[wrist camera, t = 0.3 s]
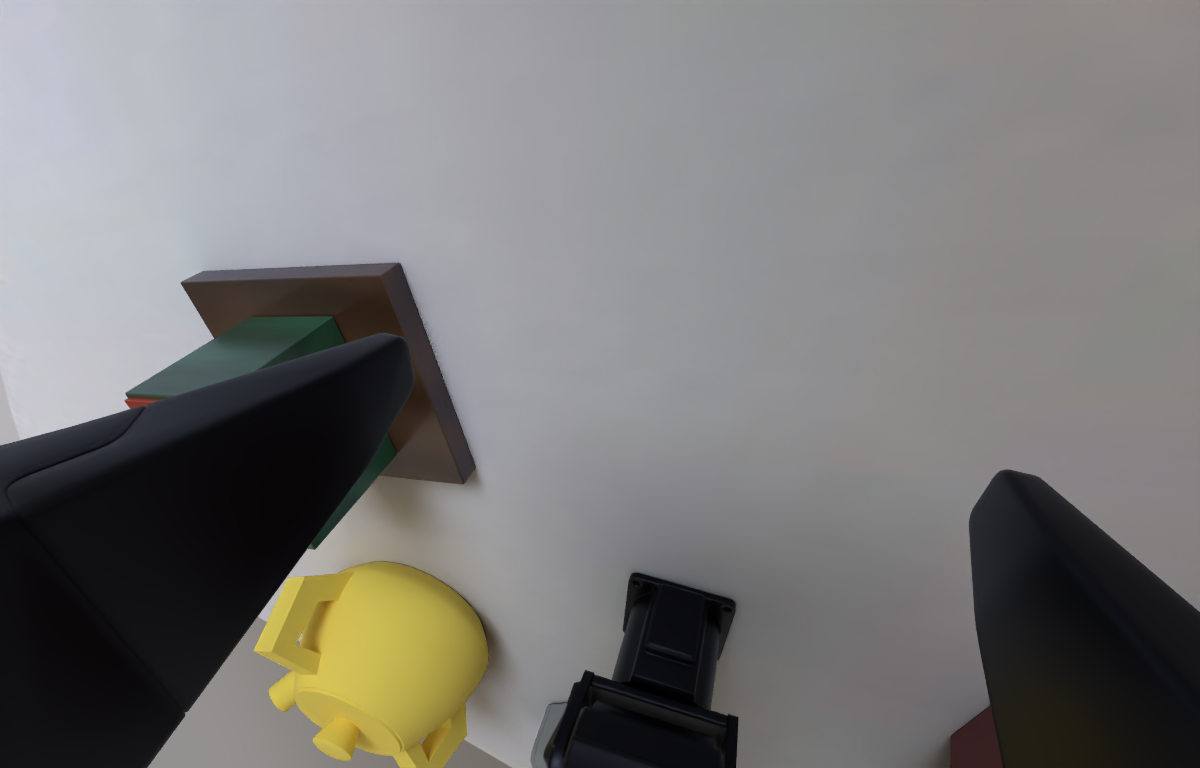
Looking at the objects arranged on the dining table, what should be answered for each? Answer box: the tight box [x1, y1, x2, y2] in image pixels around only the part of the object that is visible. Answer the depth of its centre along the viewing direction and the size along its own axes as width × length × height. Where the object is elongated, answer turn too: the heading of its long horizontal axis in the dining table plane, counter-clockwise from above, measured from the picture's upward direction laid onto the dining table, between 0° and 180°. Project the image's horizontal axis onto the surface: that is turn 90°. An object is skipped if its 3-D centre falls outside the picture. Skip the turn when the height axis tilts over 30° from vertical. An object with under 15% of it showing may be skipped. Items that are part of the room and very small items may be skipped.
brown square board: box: [181, 263, 475, 484], centre depth 32 cm, size 13×13×2 cm
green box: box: [125, 316, 397, 550], centre depth 28 cm, size 9×6×7 cm, turn 10°
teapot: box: [254, 562, 489, 768], centre depth 43 cm, size 20×18×11 cm
